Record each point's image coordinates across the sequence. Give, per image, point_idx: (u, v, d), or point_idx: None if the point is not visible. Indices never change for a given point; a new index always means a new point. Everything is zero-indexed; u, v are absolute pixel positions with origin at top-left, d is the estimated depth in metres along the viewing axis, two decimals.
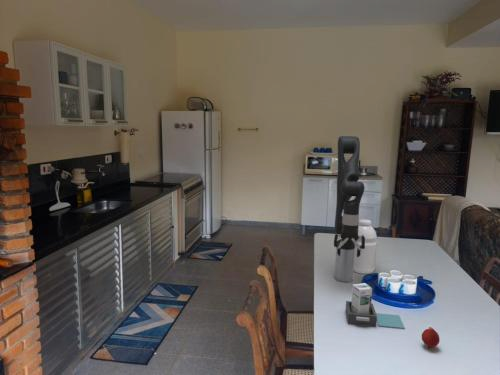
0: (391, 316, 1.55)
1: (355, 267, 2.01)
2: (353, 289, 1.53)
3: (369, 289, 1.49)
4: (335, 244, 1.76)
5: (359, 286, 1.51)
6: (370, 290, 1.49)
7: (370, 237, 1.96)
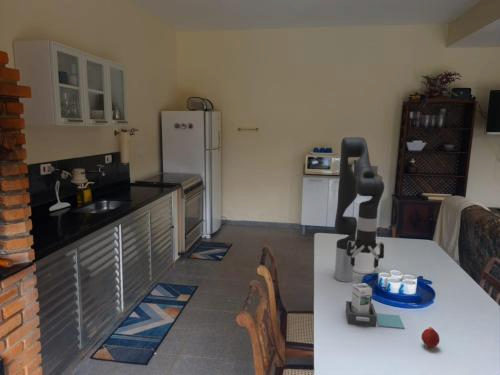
0: (391, 316, 1.55)
1: (355, 267, 2.01)
2: (353, 289, 1.53)
3: (369, 289, 1.49)
4: (348, 253, 1.49)
5: (359, 286, 1.51)
6: (370, 290, 1.49)
7: None
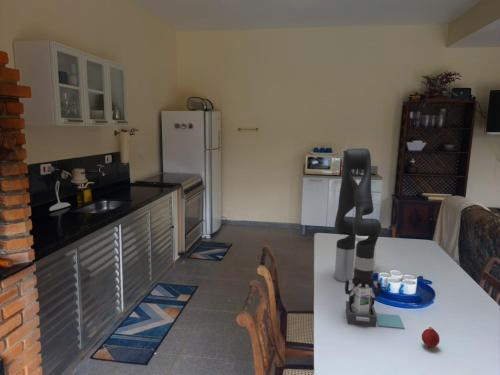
0: (391, 316, 1.55)
1: None
2: None
3: (369, 289, 1.49)
4: (347, 291, 1.51)
5: None
6: None
7: None
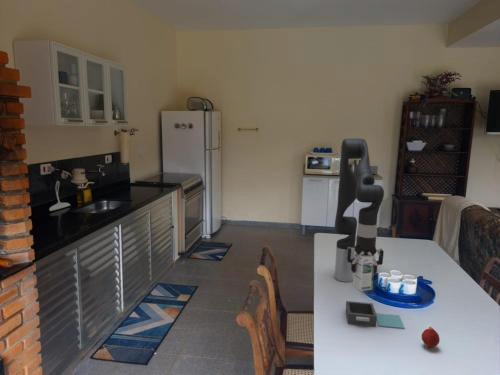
0: (391, 316, 1.55)
1: None
2: None
3: (372, 257, 1.47)
4: (349, 259, 1.49)
5: None
6: (372, 258, 1.47)
7: None
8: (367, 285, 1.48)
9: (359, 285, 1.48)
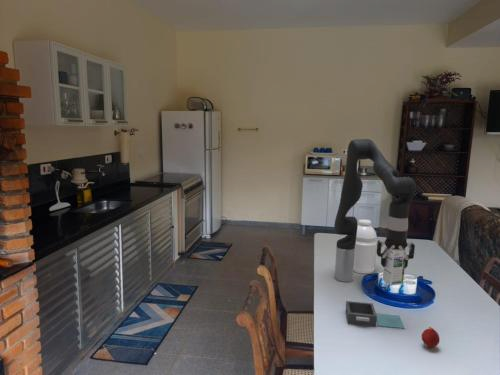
0: (391, 316, 1.55)
1: (355, 267, 2.01)
2: None
3: (403, 251, 1.44)
4: (379, 253, 1.47)
5: None
6: (403, 252, 1.45)
7: (370, 237, 1.96)
8: (398, 280, 1.46)
9: (389, 279, 1.46)
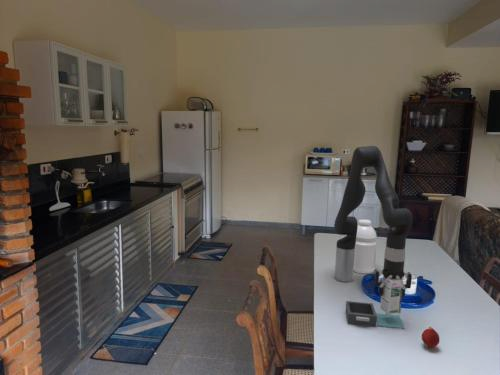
0: (391, 316, 1.55)
1: (355, 267, 2.01)
2: None
3: (400, 281, 1.47)
4: (377, 282, 1.49)
5: None
6: None
7: (370, 237, 1.96)
8: (395, 309, 1.48)
9: (387, 309, 1.48)
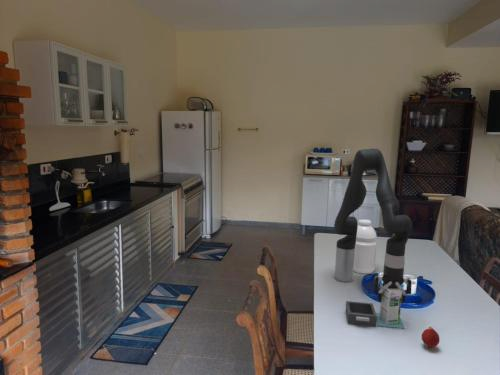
0: None
1: (355, 267, 2.01)
2: None
3: (399, 291, 1.47)
4: (375, 288, 1.49)
5: None
6: (400, 292, 1.47)
7: (370, 237, 1.96)
8: (394, 319, 1.49)
9: (386, 318, 1.49)
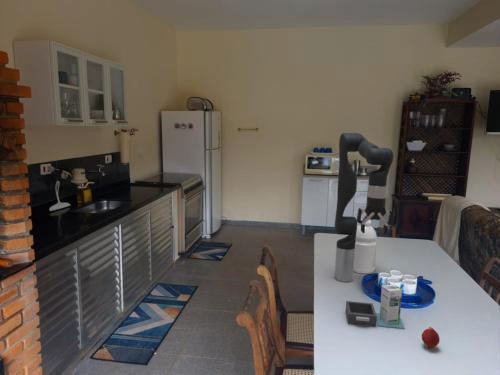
0: None
1: (355, 267, 2.01)
2: (382, 290, 1.51)
3: (399, 291, 1.47)
4: (359, 220, 1.56)
5: (388, 287, 1.49)
6: (400, 292, 1.47)
7: (370, 237, 1.96)
8: (394, 319, 1.49)
9: (386, 318, 1.49)
